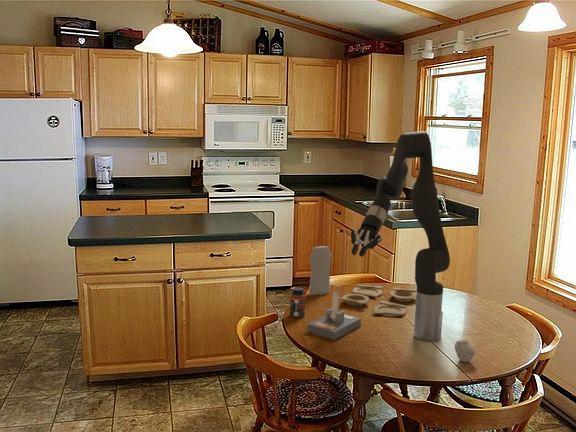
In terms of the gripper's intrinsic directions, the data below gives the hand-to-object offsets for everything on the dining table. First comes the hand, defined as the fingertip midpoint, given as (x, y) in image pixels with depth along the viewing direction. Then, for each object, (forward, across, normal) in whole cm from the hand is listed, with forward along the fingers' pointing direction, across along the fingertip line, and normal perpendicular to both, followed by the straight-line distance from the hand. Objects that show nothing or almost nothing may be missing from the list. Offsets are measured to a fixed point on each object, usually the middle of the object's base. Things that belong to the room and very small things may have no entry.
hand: (357, 254), depth 214 cm
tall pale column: (+7, -28, +30) cm, 41 cm away
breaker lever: (+26, 0, +6) cm, 27 cm away
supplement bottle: (+27, -18, +10) cm, 34 cm away
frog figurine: (+25, +48, +12) cm, 55 cm away
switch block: (+28, 0, +8) cm, 29 cm away
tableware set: (+1, -3, +36) cm, 36 cm away
